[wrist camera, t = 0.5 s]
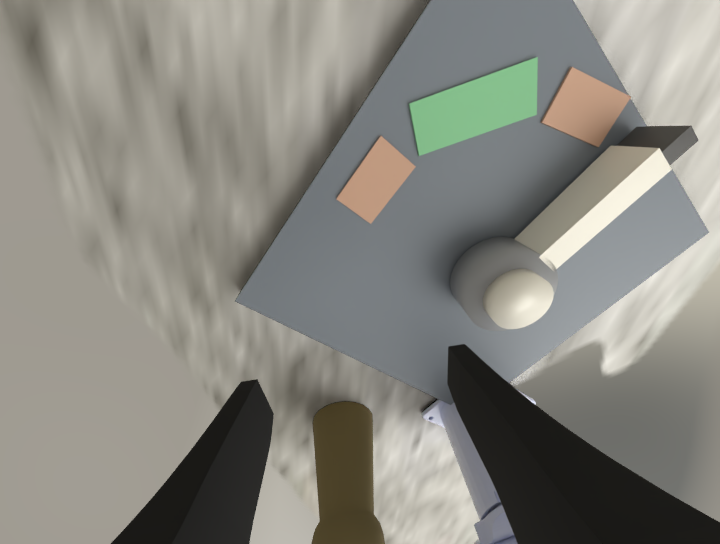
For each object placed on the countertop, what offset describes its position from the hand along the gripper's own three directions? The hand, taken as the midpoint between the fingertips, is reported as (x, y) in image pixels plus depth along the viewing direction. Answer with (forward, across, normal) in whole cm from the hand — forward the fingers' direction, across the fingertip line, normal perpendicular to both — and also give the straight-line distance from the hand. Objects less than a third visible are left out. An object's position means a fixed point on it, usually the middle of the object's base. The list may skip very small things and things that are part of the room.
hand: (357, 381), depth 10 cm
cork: (+10, +3, +17) cm, 20 cm away
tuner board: (+10, -9, +1) cm, 13 cm away
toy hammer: (+8, -13, -1) cm, 15 cm away
